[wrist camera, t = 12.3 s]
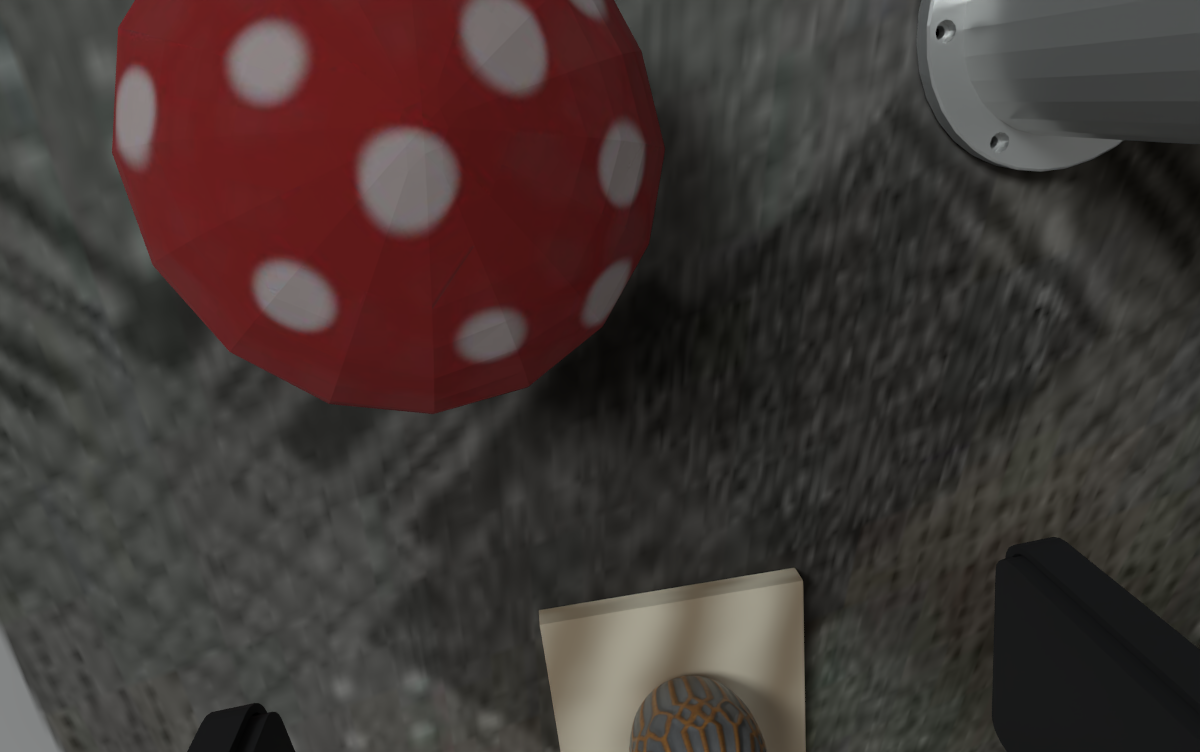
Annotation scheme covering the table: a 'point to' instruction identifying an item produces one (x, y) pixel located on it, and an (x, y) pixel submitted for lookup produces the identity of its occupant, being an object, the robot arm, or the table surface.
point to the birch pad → (678, 656)
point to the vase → (694, 719)
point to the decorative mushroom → (390, 183)
